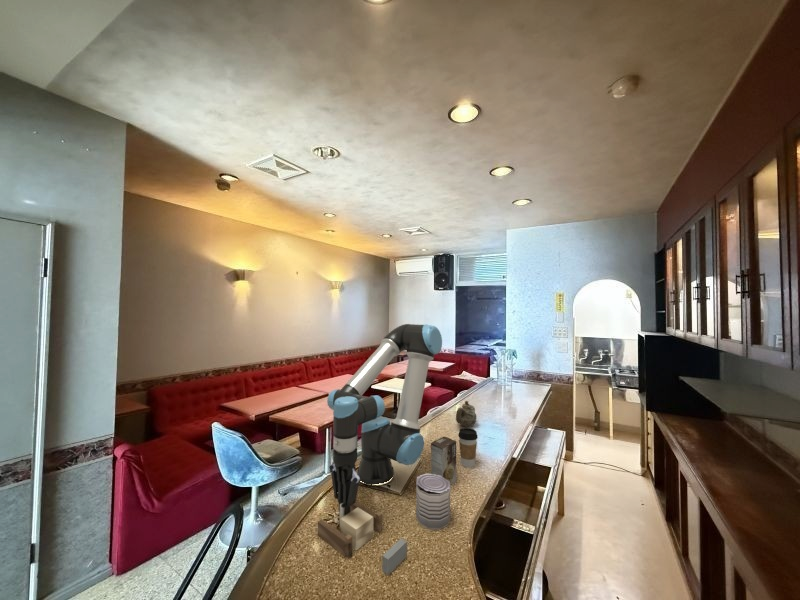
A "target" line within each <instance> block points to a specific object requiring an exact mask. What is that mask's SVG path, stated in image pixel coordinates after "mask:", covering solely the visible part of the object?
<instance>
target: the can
mask: <svg viewBox="0 0 800 600" xmlns="http://www.w3.org/2000/svg"><path fill="white" fill-rule="evenodd" d="M415 486H416V487H415V491H416V492H415V505H416V506H415V518H416V520H417V521H418V523H419V525H420V526H421V527H424V528H426V529H427V530H442V529H443V528H445V527H447V526H449V523H450V520H451V485H450V481H448V480H446V479H445V478H443V477H442V476H440V475H435V474H431V473H423V474H420V475H418V476H417V477H416V483H415Z"/></svg>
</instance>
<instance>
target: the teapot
mask: <svg viewBox="0 0 800 600" xmlns="http://www.w3.org/2000/svg"><path fill="white" fill-rule="evenodd" d="M455 420H456V423H457V424H458V425H460V426H462V427H464V428H472V427H473V426H474V425H475V423H477V414H476V409H475V406H474V405H471V404H470V403H469V400H465V401H464V404H462V405H461V406H460V407H458V408H457V410H456V413H455Z"/></svg>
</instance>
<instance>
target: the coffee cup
mask: <svg viewBox="0 0 800 600" xmlns="http://www.w3.org/2000/svg"><path fill="white" fill-rule="evenodd" d="M458 438H459V440H458V443H459V454H460V464H462V465H463V466H462V465H461V466H462V467H464V468H466V467H468V468H467V469H470V468H471V469H473V468H475V467H476V466H475V465H476V455H477V445H478V443H477V442H478V433H477V430H476V429H473V428H471V427H468V428H467V427H464V428H460V429H459V431H458Z"/></svg>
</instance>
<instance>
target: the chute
mask: <svg viewBox="0 0 800 600" xmlns="http://www.w3.org/2000/svg"><path fill="white" fill-rule="evenodd" d="M357 507H358V508H360V509H361V510H363V511H365V512H366V513H368V514H370V515H371V516H373V531H375V532H376V533H378V534H380V533H381V532H383V518H384V515H383V512H381V511H378V512H374V511H372V510H370V508H368V507H365V506H364V505H362V504H360V503H359V502H357V501H356V502H355V504H353V505H351V506H350V512H351V511H353V510H354V509H356V508H357ZM317 536H318V537H319V538H321V539H322V540H323V541H324V542H326V543H328V545H330V546H331V547H332V548H334V549H335V550H336V551H338V552H339V553H340V554H342V555H343V556H344V557H346V558H347V560H349V559H350V558H351V557H353V548H352V536H351V535H350V534H348V535H347V536H345V535H344V534H342V533H341V532H340V530H338V529H336V528H335V527H333V526H332V525H331V524H329V523H328V522H326V521H325V520H324V519H322V518H321V519H320V520H318V521H317Z"/></svg>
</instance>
